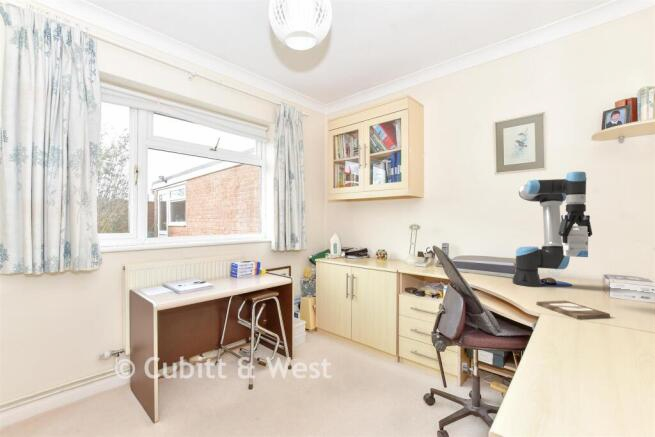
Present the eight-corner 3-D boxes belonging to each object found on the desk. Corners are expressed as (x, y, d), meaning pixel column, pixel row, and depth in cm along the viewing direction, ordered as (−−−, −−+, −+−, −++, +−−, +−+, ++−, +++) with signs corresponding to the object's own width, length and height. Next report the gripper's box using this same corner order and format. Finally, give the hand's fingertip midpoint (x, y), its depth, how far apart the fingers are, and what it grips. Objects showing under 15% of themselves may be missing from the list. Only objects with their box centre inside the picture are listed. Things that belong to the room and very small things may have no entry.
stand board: (536, 304, 143) (536, 301, 143) (565, 303, 146) (565, 299, 146) (577, 319, 124) (577, 314, 124) (609, 317, 126) (609, 313, 126)
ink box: (585, 256, 146) (585, 226, 146) (588, 257, 142) (588, 226, 142) (563, 255, 150) (563, 225, 150) (565, 256, 146) (565, 225, 146)
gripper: (563, 202, 140) (563, 250, 140) (602, 203, 144) (602, 250, 144) (549, 203, 148) (548, 249, 148) (587, 204, 151) (586, 249, 151)
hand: (575, 249), depth 146 cm, fingers closed on ink box, 9 cm apart
